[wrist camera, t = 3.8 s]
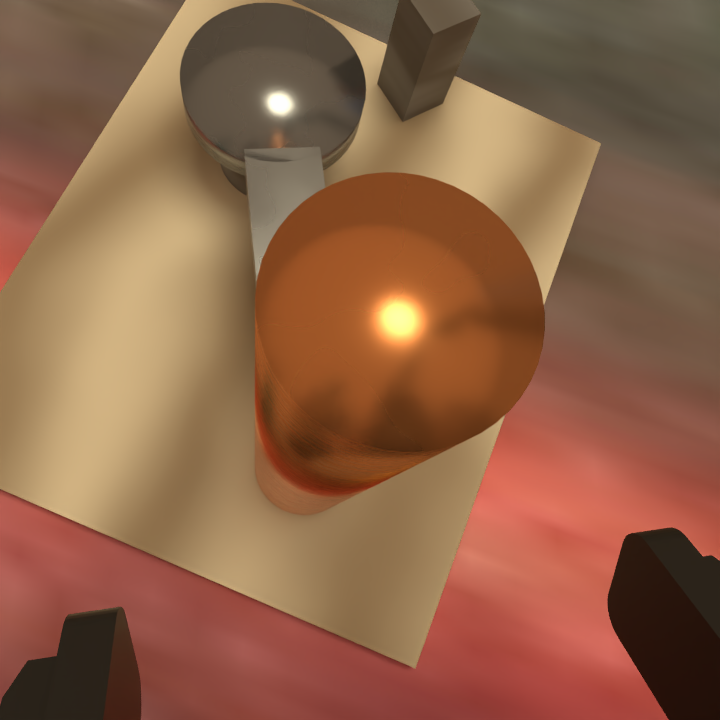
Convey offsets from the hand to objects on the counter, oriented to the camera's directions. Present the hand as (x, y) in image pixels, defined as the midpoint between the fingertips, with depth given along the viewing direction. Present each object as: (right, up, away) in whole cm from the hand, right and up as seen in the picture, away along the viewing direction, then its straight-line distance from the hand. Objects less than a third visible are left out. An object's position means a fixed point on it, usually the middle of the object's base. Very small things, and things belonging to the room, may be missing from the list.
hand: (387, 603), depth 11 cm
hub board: (-3, +7, +15) cm, 17 cm away
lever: (-3, +7, +14) cm, 16 cm away
